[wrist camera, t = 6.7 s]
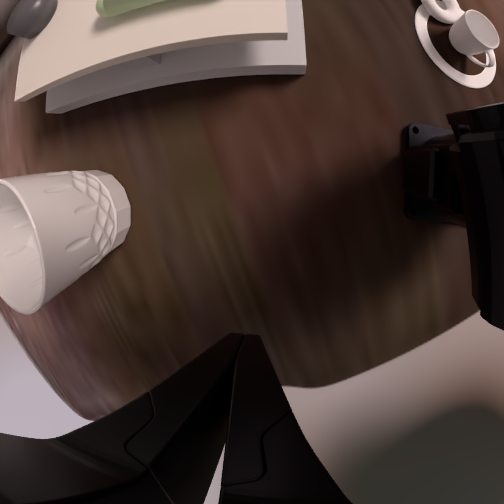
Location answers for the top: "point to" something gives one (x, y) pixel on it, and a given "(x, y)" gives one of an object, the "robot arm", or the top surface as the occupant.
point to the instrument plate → (127, 33)
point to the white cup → (56, 231)
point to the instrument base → (188, 67)
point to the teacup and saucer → (460, 39)
